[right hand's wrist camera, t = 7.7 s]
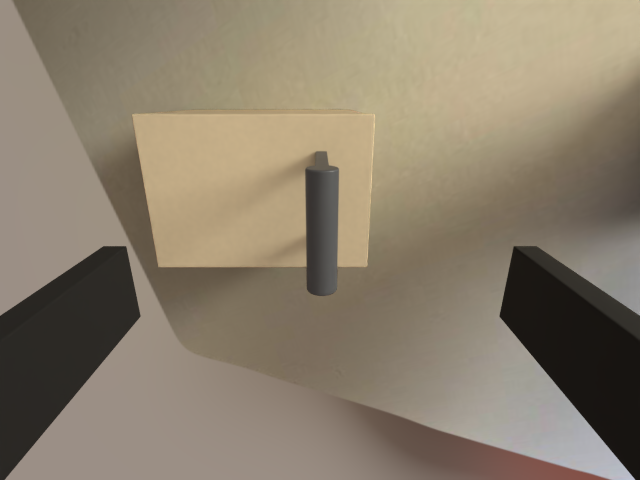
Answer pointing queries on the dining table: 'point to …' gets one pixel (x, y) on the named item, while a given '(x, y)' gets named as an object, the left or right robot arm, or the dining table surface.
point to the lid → (259, 190)
